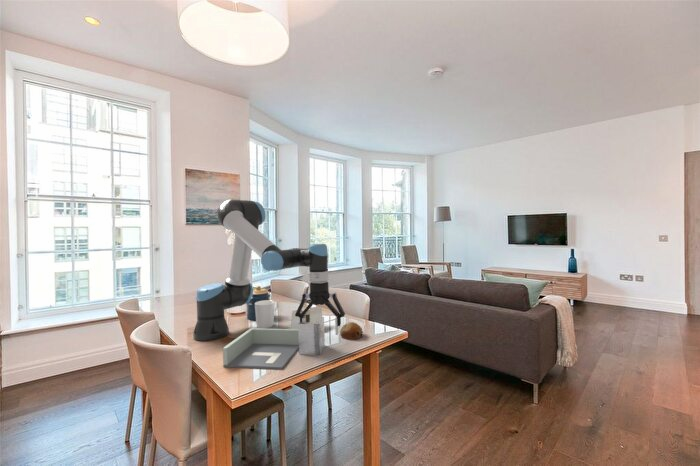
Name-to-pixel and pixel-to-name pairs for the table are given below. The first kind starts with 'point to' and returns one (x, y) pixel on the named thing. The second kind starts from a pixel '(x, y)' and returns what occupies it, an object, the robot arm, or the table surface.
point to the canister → (257, 296)
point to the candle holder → (264, 313)
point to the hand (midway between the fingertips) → (320, 333)
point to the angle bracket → (311, 337)
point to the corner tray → (262, 348)
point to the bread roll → (351, 331)
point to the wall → (310, 316)
